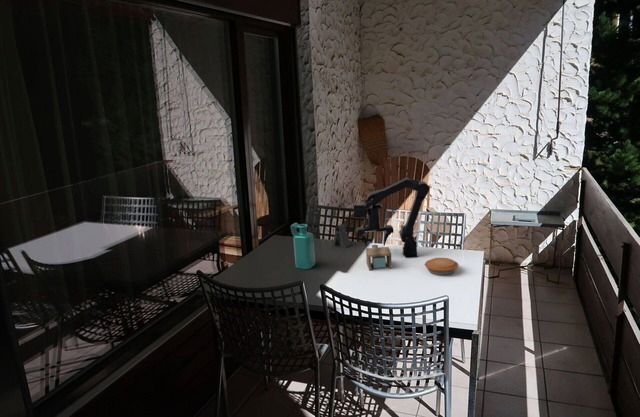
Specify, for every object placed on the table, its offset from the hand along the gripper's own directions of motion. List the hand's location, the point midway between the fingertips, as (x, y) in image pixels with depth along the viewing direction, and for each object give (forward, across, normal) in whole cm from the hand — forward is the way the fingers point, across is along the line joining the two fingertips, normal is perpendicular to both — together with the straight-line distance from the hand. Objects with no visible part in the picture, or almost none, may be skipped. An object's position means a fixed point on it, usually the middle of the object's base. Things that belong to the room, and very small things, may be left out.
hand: (375, 246), depth 267 cm
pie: (+6, -28, +26) cm, 38 cm away
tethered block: (+6, 0, +7) cm, 9 cm away
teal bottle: (+6, +37, +6) cm, 38 cm away
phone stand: (+6, +16, -22) cm, 28 cm away
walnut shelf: (+6, 0, +14) cm, 15 cm away
